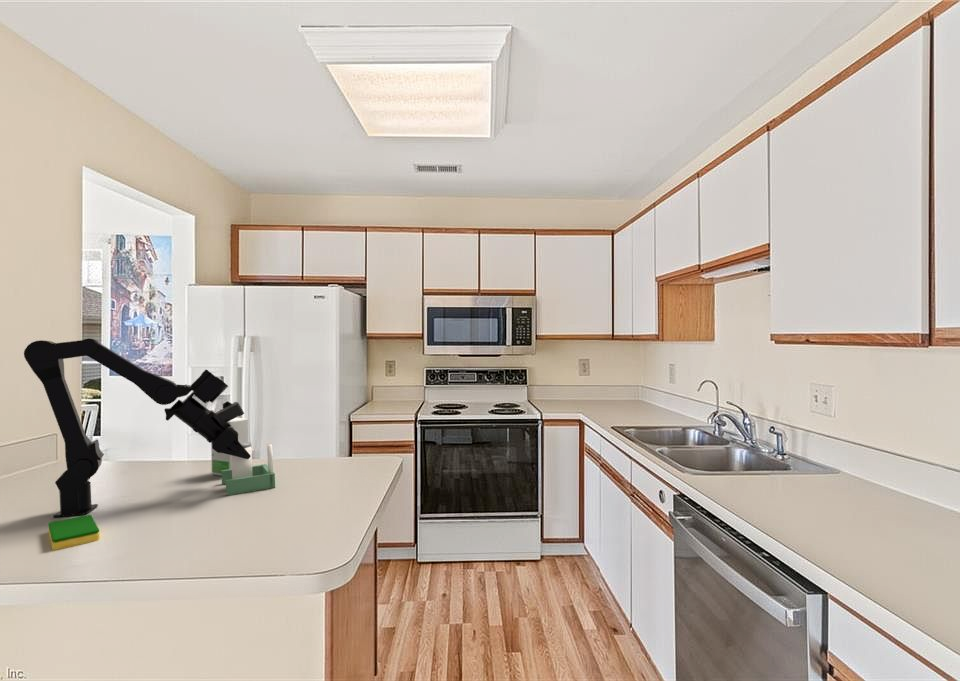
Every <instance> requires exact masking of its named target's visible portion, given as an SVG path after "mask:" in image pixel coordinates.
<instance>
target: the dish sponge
mask: <svg viewBox="0 0 960 681" xmlns="http://www.w3.org/2000/svg"><path fill="white" fill-rule="evenodd" d="M47 524H48V527H47V528H48V535H49V541H50V545H51V547H52V548H51V549H52V551H56V550H61V549H65V548H71V547H74V546H80V545H83V544H88V543H93V542H97V541H100V528H99V527H98V525H97V523H96V521H95V520H94V517H93V516H92V514H84V515H79V516H76V517H72V518H71V517H70V518H66V519H60V520H54V521H50V522H48V523H47Z"/></svg>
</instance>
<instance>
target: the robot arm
mask: <svg viewBox="0 0 960 681" xmlns="http://www.w3.org/2000/svg"><path fill="white" fill-rule="evenodd" d="M23 351H24V352H23V356H24V360H25V361H26V362H27V364H28V365H29V367H30V368H31V370H32V372H33V373H34V374H35V376H36V377H37V379H39V381H40V382H41V383H42V386H43V388H44V390H45V393H46V396H47V398H48V401H49V404H50V407H51V409H52V412H53V414H54V417H55V420H56V422H57V425H58V429H59V430H60V433H61V436H62V439H63V441H64V451H65V453H64V454H65V463H66V470H65V471H63V473H62V474H61V475H60V476H59V477H58V478H57V479H56V480H55V483H54V484H55V485H56V487H57V489H58V491H59V492H58V493H59V508H60V509H59V511H58V512H56V513H54V514H53V516H52V517H53V518H62V517H63V518H64V517H70V516H83V515H88V513H90V512H92V511H93V510H95V509H96V508H97V507H99V504H98V503H95V504H92V486H91V481H90V479H91V478H92V477H93V476H94V475H96V473H97V472H98V470H99V468H100V467H101V465H102V462H103V460H102V459H103V456H104V455H105V453H103V452H102V451H101V448H100V443H99V439H95V440H93V441H91V439H90V438H89V437H88V435H87V434H86V432H85V429H84V427H83V424H82V421H81V418H80V416H79V413H78V410H77V408H76V405H75V403H74V400H73V397H72V394H71V391H70V389H69V386H68V383H67V380H66V378H65V364H64V359H72V358H80V357H87V358H91V359H92V360H93V361H95V362H97V363H99V364H100V365H102V366H104V367H105V368H107V369H109V370H111V371H113V373H116V374H117V375H119V376H120V377H122V378H124V379H126V380H128V381H129V382H131V383H133V384H134V385H136V387H137V388H139V389H140V390H141V391H142V392H143V393H144V394H145V395H147V396H148V397H149V398H150V399H151V400H152V401H153V402H154V403H155V404H159V405H161V406H167V405H171V404H172V403H173V405H172V406H170V407H169V408H164V413H165V420H166V421H170V419H172V417H173V416H175V417H176V418H177V419H179V420H180V421H182V422H183V423H185V425H186V426H188V427H190V428H191V429H192V431H194V432H195V433H198V434H199V435H200V436H201V437H202V438H203V439H205V440H206V442H208V443H209V444H210V446H211V447H212V449H214V450H215V451H216V452H218V453H224V454H228V455H232V456H237V457H240V458H244V459H249V458H250V457H251V455H250V454H249V453H248V452H247V451H246V450H245V448H244V447H243V446H242V445H241V444H240V443H239V441H238V432H237V431H235V430H234V428H233V427H230V426H231V425H230V424H229V423H228V421H230V420H232V419H234V418H239V417H241V416H243V415H244V414H245V412H244V411H243V409H242V407H241V405H240V403H239V402H238V401H234V402H233V403H231V402H230V401H226V402H223V403H222V408H221V409H219V410H218V411H216V412H214V411H213V410H212V409H211V410H209V409H208V408H207V407H206V406H204V405H203V404H202V403H204V404H207V403H209V402H210V403H211V404H213V403H214V402H215V401H216V399H218V398H219V397H220V396H221V395H222V393H223V392H224V391H225V390H226V389H228V387H229V385H228V384H227V383H226V382H224V381H223V380H222V379H221V378H219V377H218V376H216V375H214V374H213V373H212V372H210V371H209V370H208V369H204V370H203V371H202V373H201V374H200V376H198V378H196V380H194V381H193V382H192V383H191V384H189V385H188V384H176V382H175V381H172V379H171V380H170V379H168V378H165V377H163V376H160V375H158V374H155V373H152V372H149V371H147V370H145V369H143V368H142V367H140V366H138V365H136V364H135V363H133V362H132V361H130V360H129V359H126V358H125V357H123V356H121V355H120V354H118V353H116V352H115V351H113V350H112V349H111V348H108V347H107V346H105V345H103V344H101V342H100V341H99V340H97V339H94V338H84V339H82V340H72V341H65V342H54V341H51V340H41V339H39V340H35V341H32V342H31V343H29V344H27V346H26V347H25V349H24V350H23ZM185 396H187V397H186V398H185V399H184V400H181V399H178V398H183V397H185ZM193 396H195V397H196V398H197V399H198V400H199V401H201V402H202V403H200V402H199V401H198V400H197V399H196V398H194V397H193ZM177 399H178V400H177ZM176 400H177V401H176ZM175 401H176V402H175ZM174 402H175V403H174ZM228 426H229V427H228Z"/></svg>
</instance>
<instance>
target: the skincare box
mask: <svg viewBox="0 0 960 681" xmlns="http://www.w3.org/2000/svg"><path fill="white" fill-rule="evenodd" d="M228 423H229V424H230V425H231V426H230V427H233V428H234V430H235V431H237V432H238V441H239V442H249V418H243V417H242V418H241V417H236V418H234V419H232V420H230V421H228ZM228 427H229V426H228ZM210 449H211V455H210V456H211V475H215V476H221V470H228V469H232V458H231V455H228V454H224V453H218V452H216V451H215V450H214V449H212V447H211V448H210Z"/></svg>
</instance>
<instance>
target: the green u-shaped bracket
mask: <svg viewBox="0 0 960 681" xmlns="http://www.w3.org/2000/svg"><path fill="white" fill-rule="evenodd" d="M266 445H267V447H266V448H267V449H266V450H267V451H266V452H267V453H266V454H267V464H266V463H265V464H257V465H252V474H253V476H249V477H242V478H235V479H232V469H228V470H221V485H225V493H226V496H231V495H237V494H243V493H249V492H254V491H261V490H268V489H275V488H276V475H275V474H276V473H275V472H274V460H273V459H274V458H273V457H274V456H273V444H269V443H267V444H266Z"/></svg>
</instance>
